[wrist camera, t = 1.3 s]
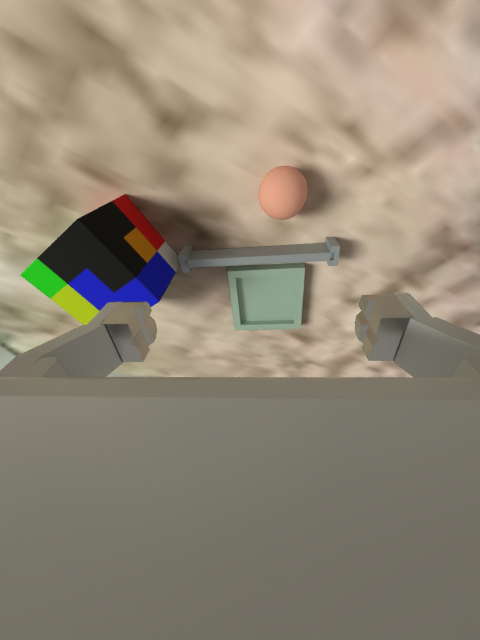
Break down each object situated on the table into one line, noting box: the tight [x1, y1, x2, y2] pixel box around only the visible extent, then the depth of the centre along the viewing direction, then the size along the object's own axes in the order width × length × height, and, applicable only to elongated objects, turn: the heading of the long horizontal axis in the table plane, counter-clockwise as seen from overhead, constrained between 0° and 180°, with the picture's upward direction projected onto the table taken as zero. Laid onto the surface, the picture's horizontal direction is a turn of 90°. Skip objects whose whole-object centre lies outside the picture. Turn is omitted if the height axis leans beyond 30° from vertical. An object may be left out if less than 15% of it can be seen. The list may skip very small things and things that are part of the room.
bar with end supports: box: [178, 237, 340, 273], centre depth 32 cm, size 2×19×3 cm, turn 95°
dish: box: [227, 263, 305, 330], centre depth 37 cm, size 10×10×2 cm
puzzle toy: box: [21, 194, 180, 325], centre depth 30 cm, size 10×10×10 cm
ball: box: [259, 166, 308, 220], centre depth 27 cm, size 5×5×5 cm
